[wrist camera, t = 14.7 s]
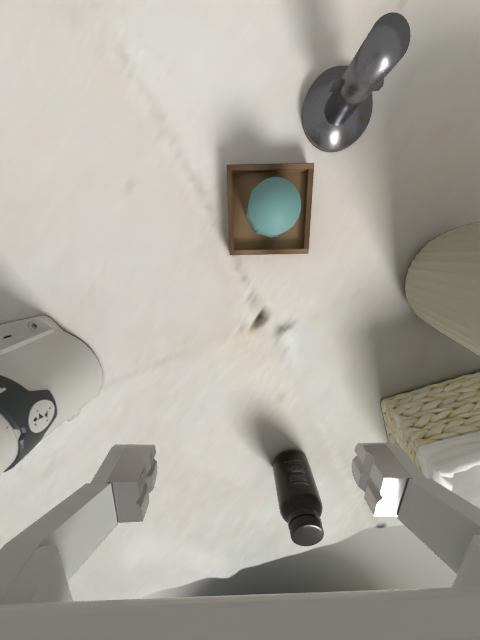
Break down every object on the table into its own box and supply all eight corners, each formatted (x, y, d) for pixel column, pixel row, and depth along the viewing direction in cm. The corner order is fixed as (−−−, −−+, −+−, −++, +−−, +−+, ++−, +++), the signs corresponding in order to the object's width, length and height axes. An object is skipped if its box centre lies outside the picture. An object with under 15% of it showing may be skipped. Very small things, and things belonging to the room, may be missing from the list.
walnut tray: (230, 254, 34) (229, 255, 32) (227, 170, 31) (226, 164, 28) (303, 252, 34) (308, 253, 32) (308, 168, 31) (314, 162, 28)
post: (299, 152, 30) (332, 104, 20) (303, 72, 28) (343, -31, 17) (363, 151, 30) (429, 102, 20) (372, 71, 28) (453, -34, 17)
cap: (238, 203, 31) (238, 196, 26) (278, 177, 30) (286, 165, 25) (260, 244, 32) (264, 244, 28) (299, 220, 32) (309, 216, 27)
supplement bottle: (265, 467, 46) (274, 541, 35) (285, 443, 44) (301, 512, 33) (294, 481, 47) (312, 557, 36) (315, 458, 45) (340, 530, 34)
